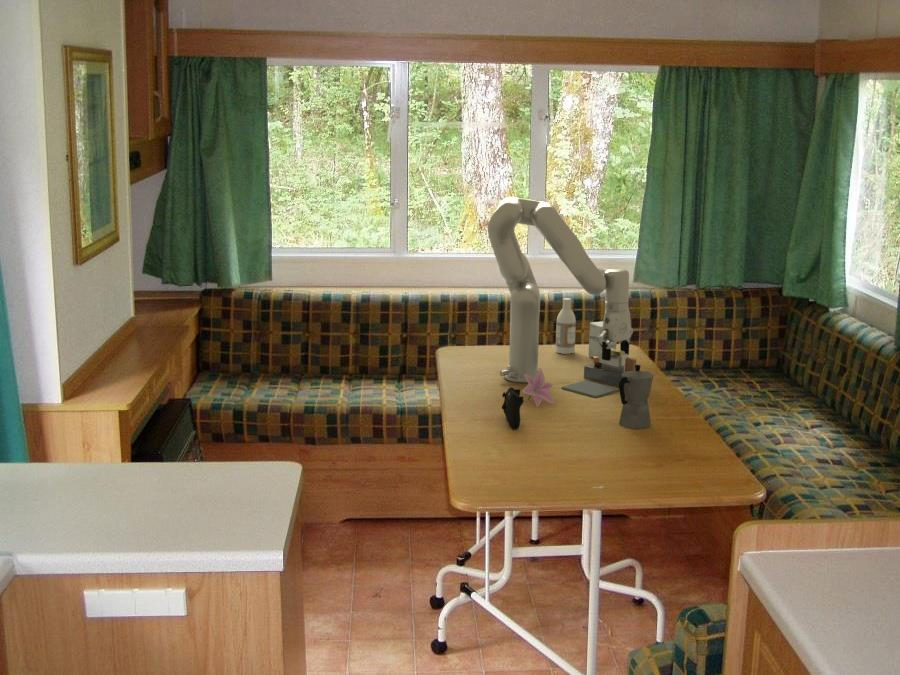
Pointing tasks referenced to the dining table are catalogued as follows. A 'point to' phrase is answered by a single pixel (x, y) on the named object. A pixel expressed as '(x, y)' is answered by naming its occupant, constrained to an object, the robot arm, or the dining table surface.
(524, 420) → the dining table surface
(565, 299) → the bath foam
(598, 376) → the plane body
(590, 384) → the mat
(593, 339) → the supplement box
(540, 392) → the lily
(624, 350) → the robot arm
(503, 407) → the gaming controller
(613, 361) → the lever cap
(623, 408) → the coffeepot
